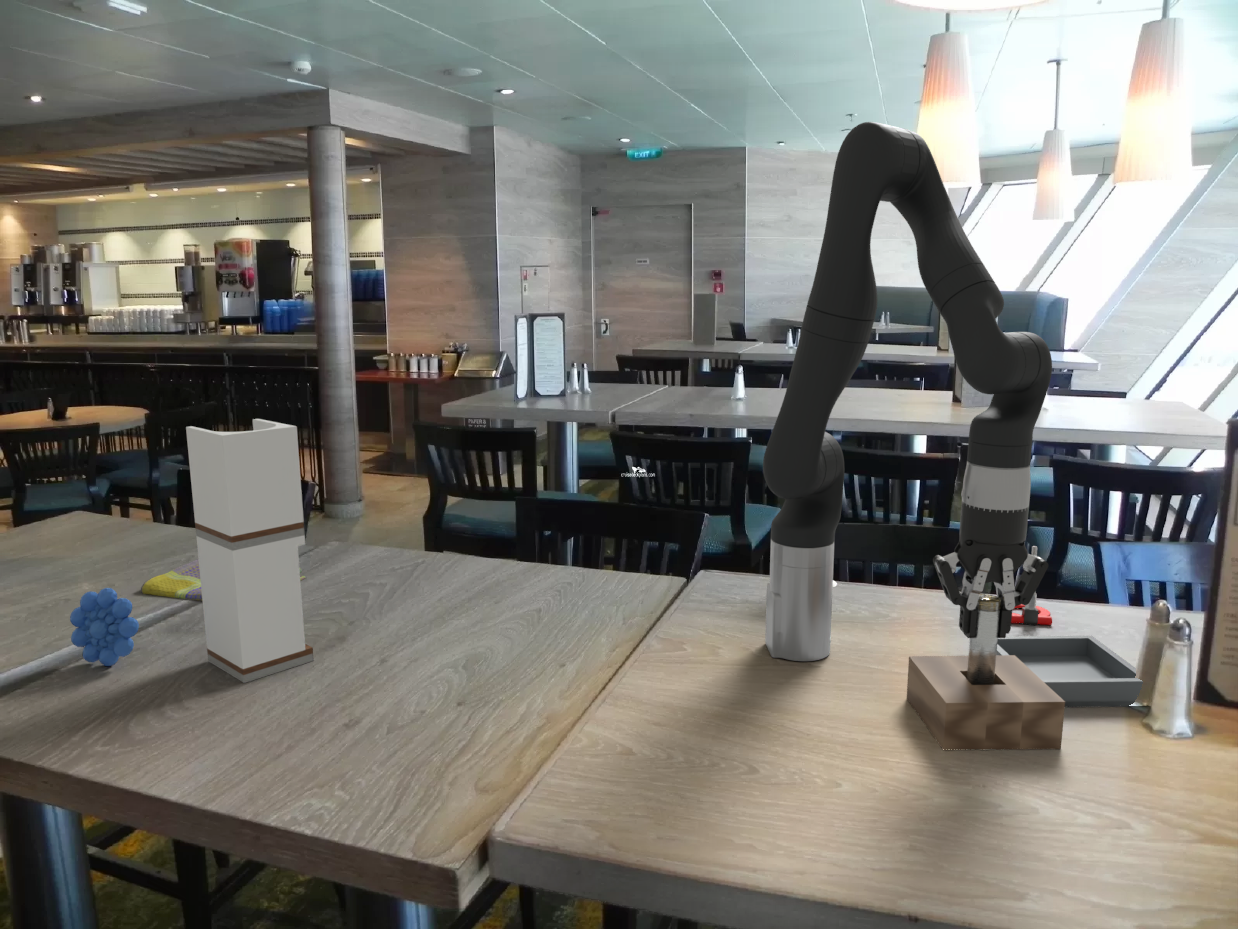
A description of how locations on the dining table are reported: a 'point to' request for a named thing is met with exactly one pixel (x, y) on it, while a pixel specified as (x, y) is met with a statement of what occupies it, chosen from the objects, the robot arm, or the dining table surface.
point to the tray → (1076, 669)
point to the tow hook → (1032, 610)
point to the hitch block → (984, 705)
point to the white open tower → (250, 547)
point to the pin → (984, 641)
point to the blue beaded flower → (103, 626)
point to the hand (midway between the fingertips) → (984, 635)
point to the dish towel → (179, 583)
